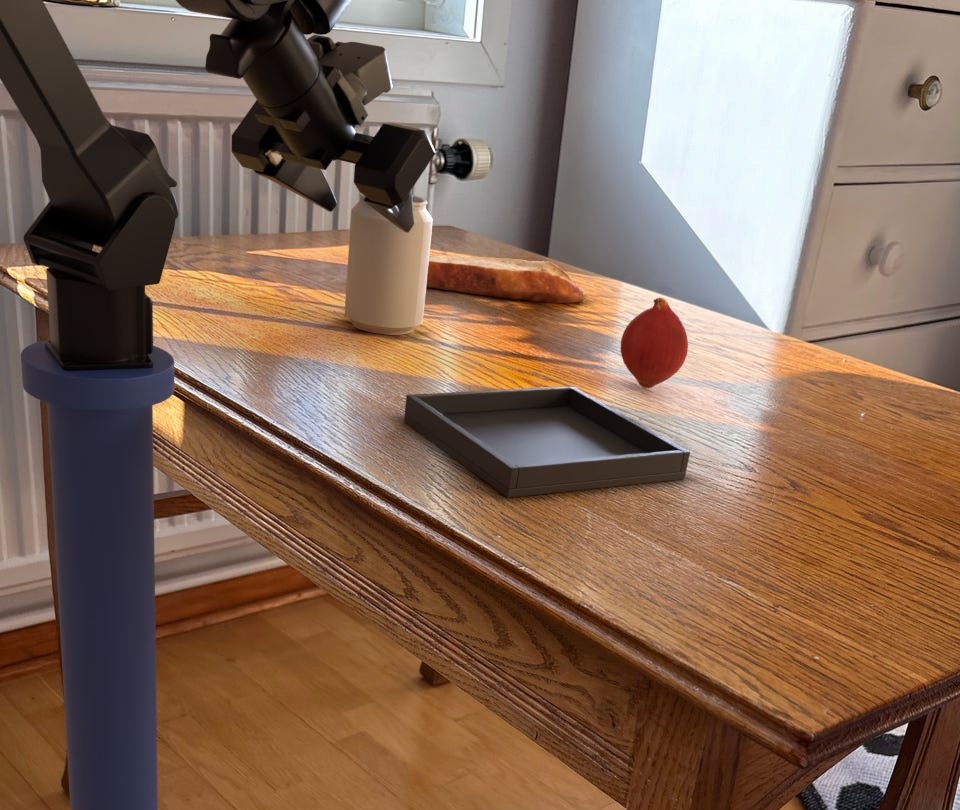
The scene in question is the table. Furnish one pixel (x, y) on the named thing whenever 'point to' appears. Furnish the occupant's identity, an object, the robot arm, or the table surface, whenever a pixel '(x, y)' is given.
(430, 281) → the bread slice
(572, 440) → the tray
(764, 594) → the table surface
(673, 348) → the onion
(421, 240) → the can
